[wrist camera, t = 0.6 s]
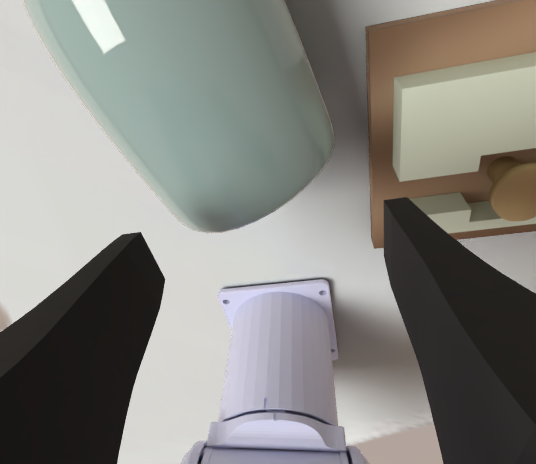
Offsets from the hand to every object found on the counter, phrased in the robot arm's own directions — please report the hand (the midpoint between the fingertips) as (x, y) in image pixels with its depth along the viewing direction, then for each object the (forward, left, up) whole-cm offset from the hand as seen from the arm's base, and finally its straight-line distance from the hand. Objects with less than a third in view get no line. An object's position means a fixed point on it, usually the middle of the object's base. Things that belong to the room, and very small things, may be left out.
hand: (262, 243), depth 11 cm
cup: (+9, +3, -5) cm, 11 cm away
